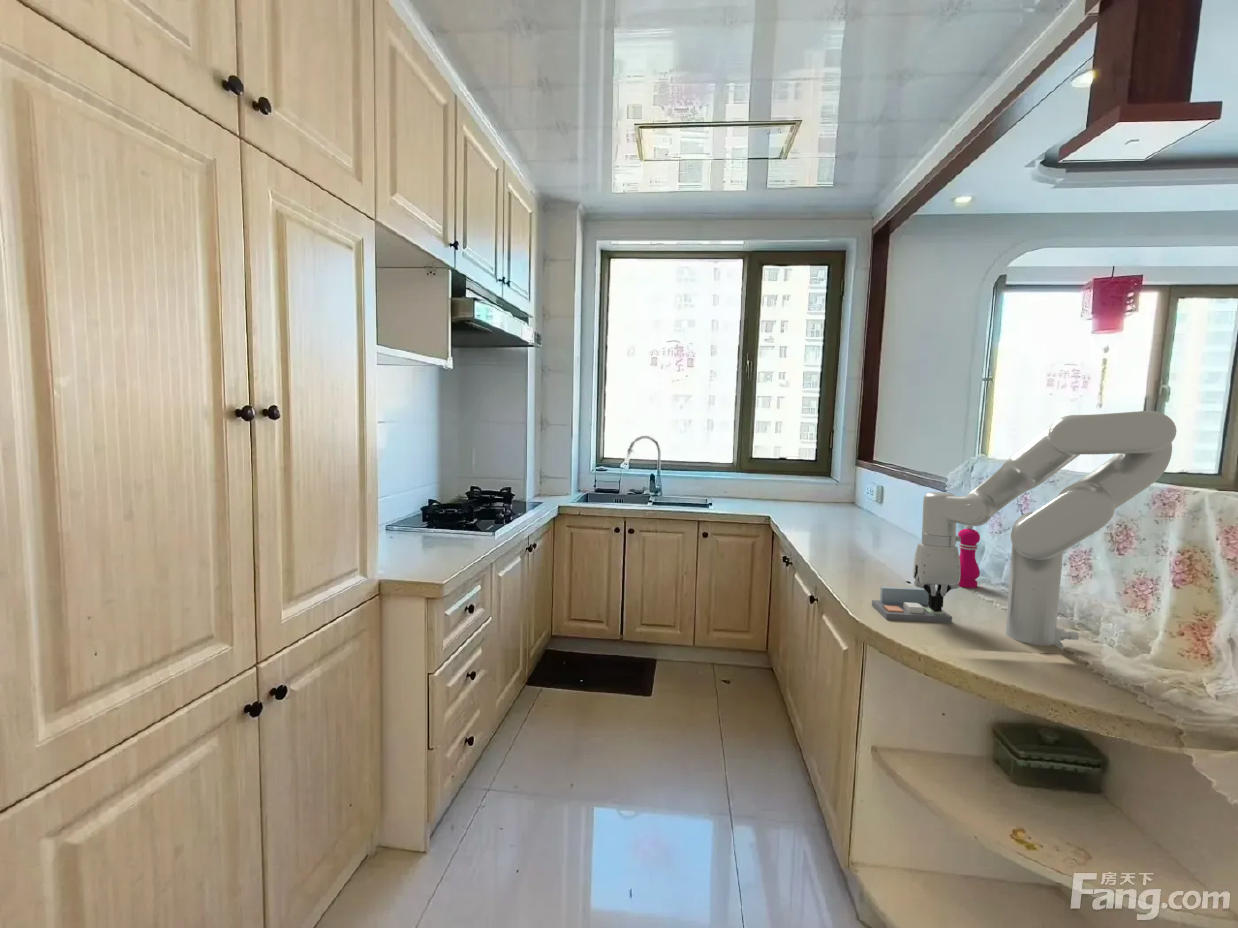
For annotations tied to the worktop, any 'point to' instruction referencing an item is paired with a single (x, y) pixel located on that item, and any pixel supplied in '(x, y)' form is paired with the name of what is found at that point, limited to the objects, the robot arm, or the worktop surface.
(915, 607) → the white key
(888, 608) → the terracotta key
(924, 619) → the keypad
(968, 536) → the pepper mill
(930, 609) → the sage key
